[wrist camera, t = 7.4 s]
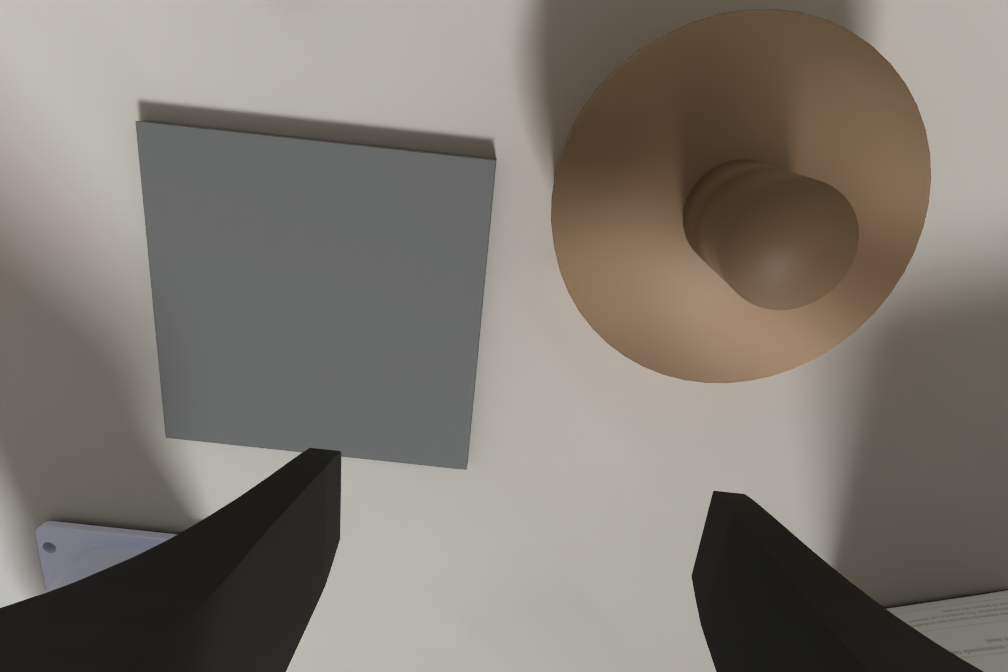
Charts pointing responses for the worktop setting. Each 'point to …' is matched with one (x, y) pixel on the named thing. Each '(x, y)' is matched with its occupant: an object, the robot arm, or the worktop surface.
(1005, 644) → the supplement box
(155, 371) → the worktop surface
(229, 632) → the robot arm
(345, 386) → the mat
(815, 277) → the lid
